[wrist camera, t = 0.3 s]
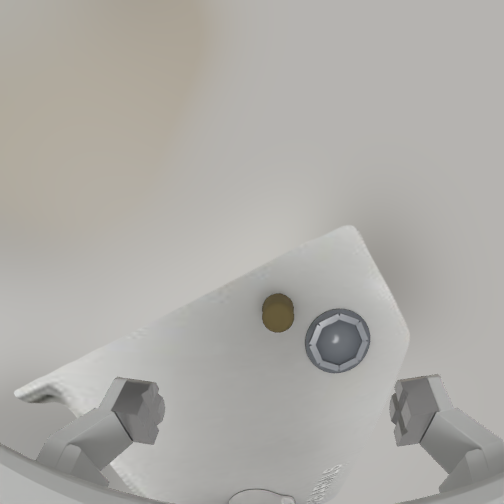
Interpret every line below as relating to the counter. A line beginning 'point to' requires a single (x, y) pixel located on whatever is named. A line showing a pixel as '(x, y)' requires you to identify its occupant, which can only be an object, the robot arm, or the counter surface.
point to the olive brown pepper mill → (278, 313)
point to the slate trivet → (337, 340)
